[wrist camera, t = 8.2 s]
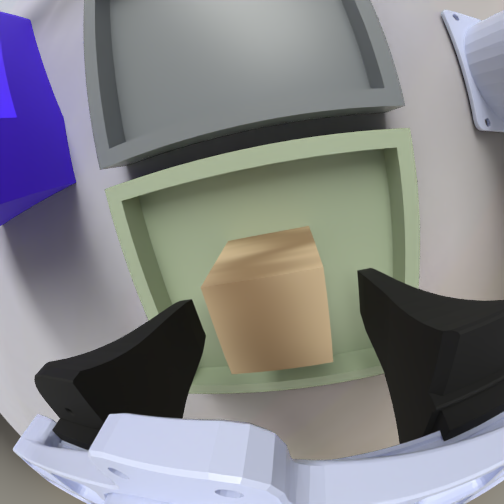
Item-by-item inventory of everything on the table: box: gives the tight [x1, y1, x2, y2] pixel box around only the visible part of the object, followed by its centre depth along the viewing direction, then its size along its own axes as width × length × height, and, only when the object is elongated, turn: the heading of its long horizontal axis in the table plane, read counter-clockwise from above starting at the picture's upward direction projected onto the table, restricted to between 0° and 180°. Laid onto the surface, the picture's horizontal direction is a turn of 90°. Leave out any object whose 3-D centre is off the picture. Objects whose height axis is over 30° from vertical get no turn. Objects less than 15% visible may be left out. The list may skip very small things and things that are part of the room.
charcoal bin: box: [84, 0, 405, 170], centre depth 9 cm, size 14×13×2 cm
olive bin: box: [105, 128, 420, 394], centre depth 14 cm, size 14×13×2 cm
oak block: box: [201, 226, 333, 374], centre depth 12 cm, size 4×4×5 cm
